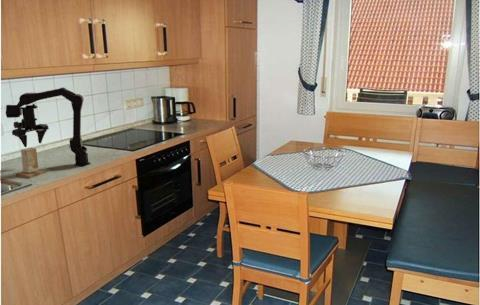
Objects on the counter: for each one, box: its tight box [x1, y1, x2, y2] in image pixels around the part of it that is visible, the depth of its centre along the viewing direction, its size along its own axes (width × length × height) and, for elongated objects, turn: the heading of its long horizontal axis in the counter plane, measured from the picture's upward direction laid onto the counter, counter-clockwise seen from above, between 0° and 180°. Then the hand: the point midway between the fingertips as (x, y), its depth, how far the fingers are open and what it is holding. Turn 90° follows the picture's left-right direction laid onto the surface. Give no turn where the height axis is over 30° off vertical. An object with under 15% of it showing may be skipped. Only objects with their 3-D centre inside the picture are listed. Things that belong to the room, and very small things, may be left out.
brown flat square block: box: [15, 168, 47, 179], centre depth 215 cm, size 10×10×2 cm
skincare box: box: [20, 147, 39, 173], centre depth 214 cm, size 6×4×12 cm
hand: (32, 145), depth 222 cm, fingers open, 9 cm apart
